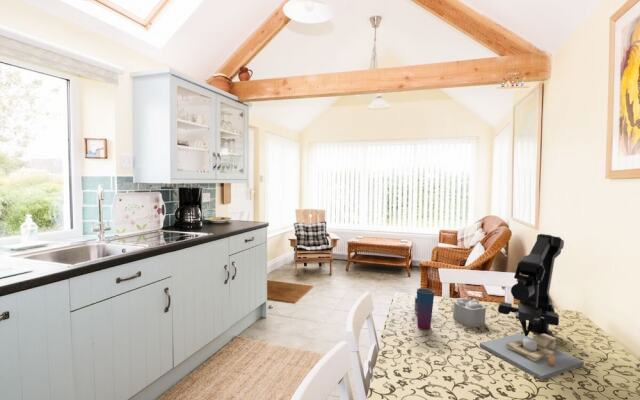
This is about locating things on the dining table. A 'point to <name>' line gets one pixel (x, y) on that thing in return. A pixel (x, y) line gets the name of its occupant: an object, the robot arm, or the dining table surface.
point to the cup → (424, 307)
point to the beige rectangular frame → (543, 347)
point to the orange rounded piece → (551, 360)
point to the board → (533, 367)
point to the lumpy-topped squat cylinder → (469, 312)
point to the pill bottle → (415, 304)
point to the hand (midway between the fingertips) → (526, 335)
